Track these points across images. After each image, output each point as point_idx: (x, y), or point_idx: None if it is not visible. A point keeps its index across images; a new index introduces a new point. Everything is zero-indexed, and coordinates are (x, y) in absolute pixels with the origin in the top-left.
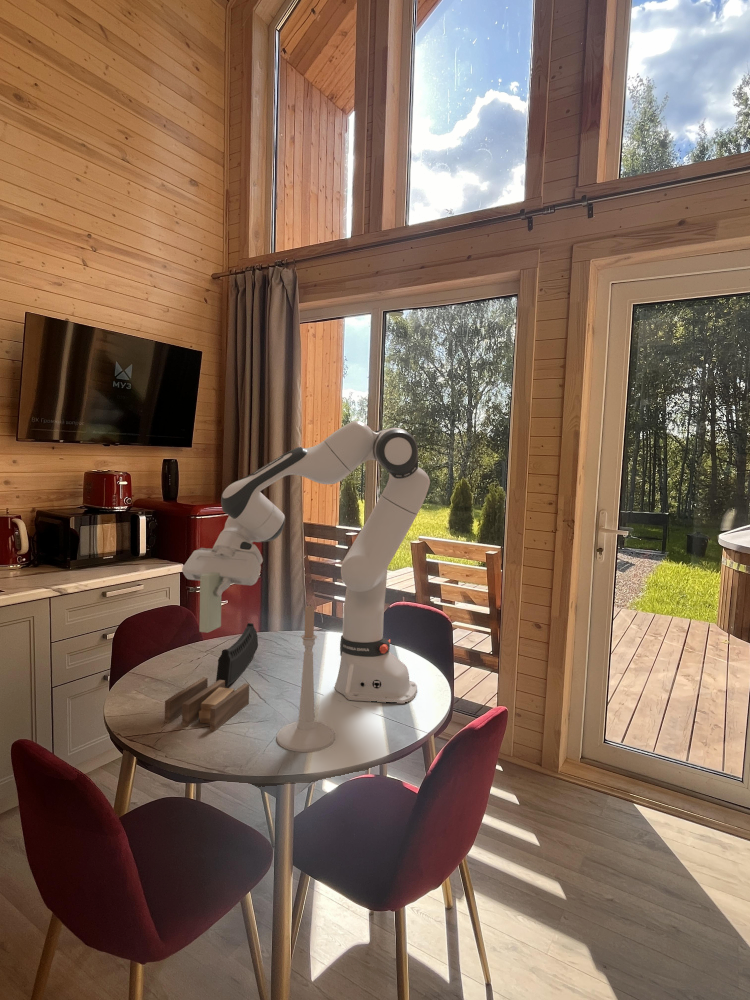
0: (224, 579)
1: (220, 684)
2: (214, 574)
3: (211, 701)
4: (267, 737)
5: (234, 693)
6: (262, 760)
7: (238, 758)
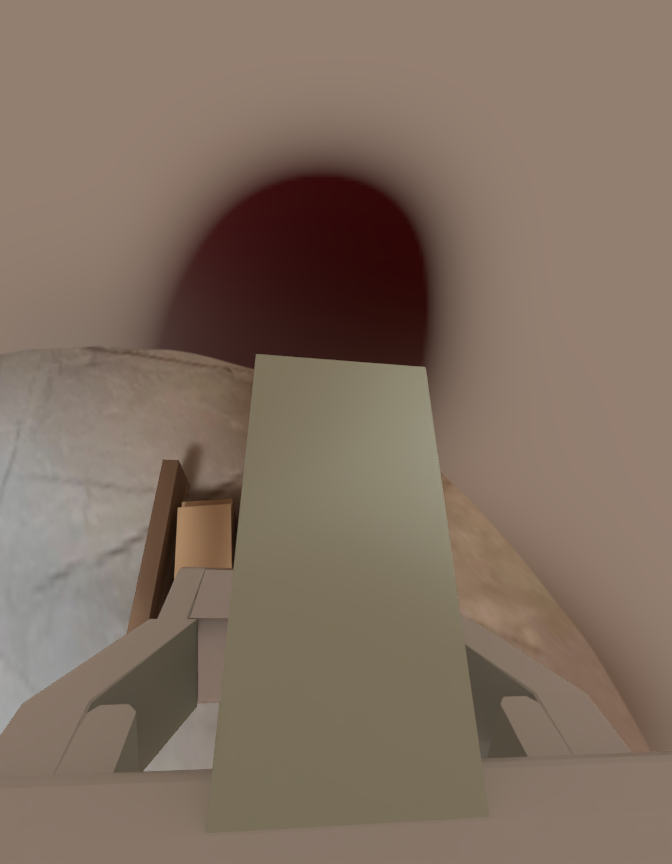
0: (76, 749)
1: None
2: (238, 533)
3: (206, 525)
4: (20, 491)
5: (144, 583)
6: (16, 397)
7: (74, 392)
